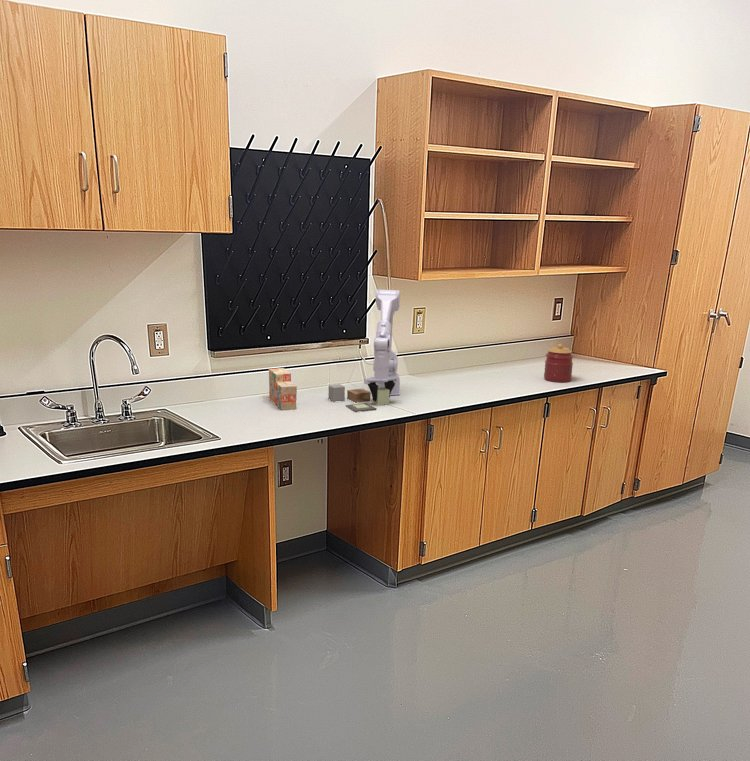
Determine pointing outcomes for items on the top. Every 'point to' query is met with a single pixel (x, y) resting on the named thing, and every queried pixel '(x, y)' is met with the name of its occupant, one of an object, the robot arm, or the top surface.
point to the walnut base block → (358, 395)
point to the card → (360, 407)
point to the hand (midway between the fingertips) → (380, 400)
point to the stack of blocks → (282, 389)
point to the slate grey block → (336, 393)
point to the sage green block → (382, 396)
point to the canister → (558, 364)
